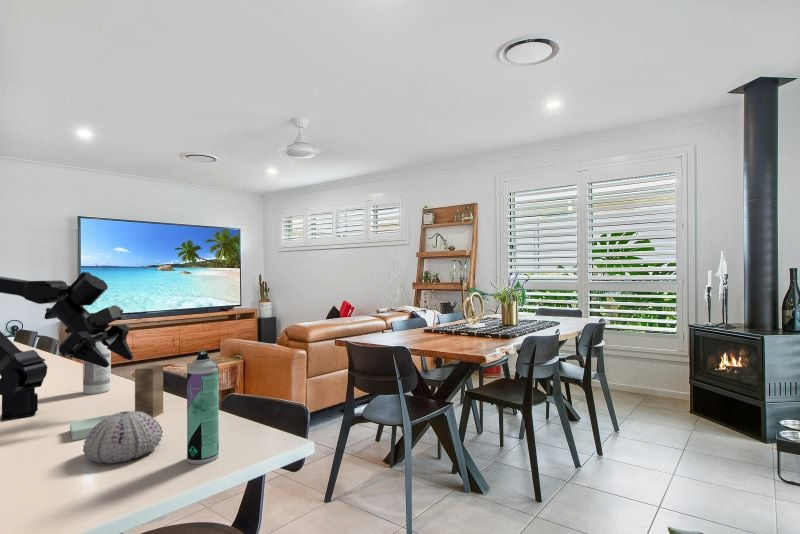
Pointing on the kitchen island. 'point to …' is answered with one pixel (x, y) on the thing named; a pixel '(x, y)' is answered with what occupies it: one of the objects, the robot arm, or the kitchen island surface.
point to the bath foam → (97, 374)
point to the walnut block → (149, 389)
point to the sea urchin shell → (122, 437)
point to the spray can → (202, 410)
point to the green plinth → (84, 427)
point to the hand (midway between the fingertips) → (120, 362)
